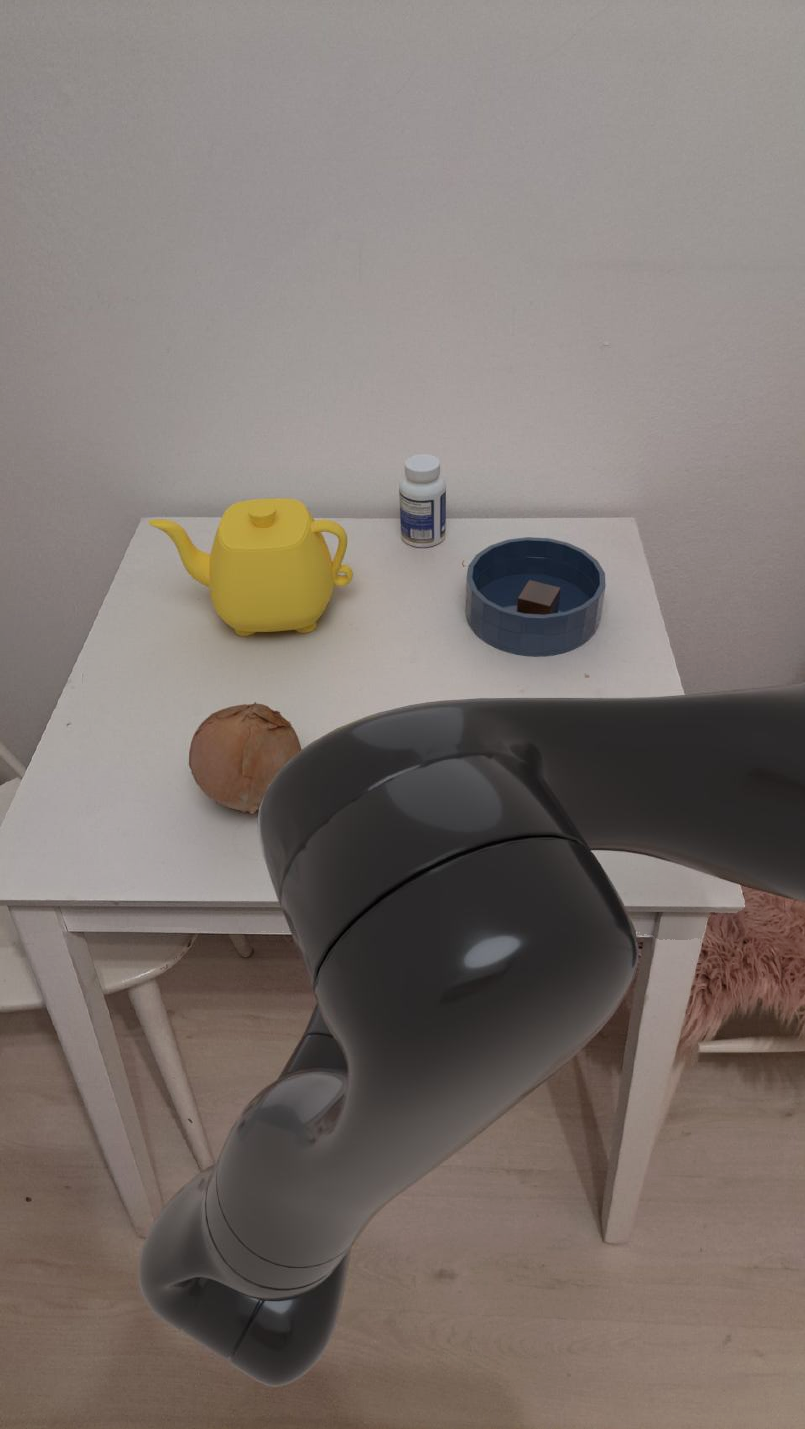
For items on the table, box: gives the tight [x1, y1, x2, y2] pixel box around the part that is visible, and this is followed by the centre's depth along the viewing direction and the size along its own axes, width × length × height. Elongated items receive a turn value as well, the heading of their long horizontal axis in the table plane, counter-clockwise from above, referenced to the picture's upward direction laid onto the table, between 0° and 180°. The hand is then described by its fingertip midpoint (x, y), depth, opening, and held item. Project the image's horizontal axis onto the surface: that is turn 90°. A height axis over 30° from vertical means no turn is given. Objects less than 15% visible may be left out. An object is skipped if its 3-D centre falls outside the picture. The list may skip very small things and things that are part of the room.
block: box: [517, 580, 561, 615], centre depth 97 cm, size 4×4×4 cm
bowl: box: [465, 536, 607, 657], centre depth 98 cm, size 14×14×5 cm
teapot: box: [147, 497, 354, 637], centre depth 97 cm, size 14×20×13 cm
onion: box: [188, 701, 302, 815], centre depth 79 cm, size 10×9×10 cm
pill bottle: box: [398, 453, 447, 548], centre depth 107 cm, size 5×5×10 cm
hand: (481, 821), depth 68 cm, fingers open, 8 cm apart
